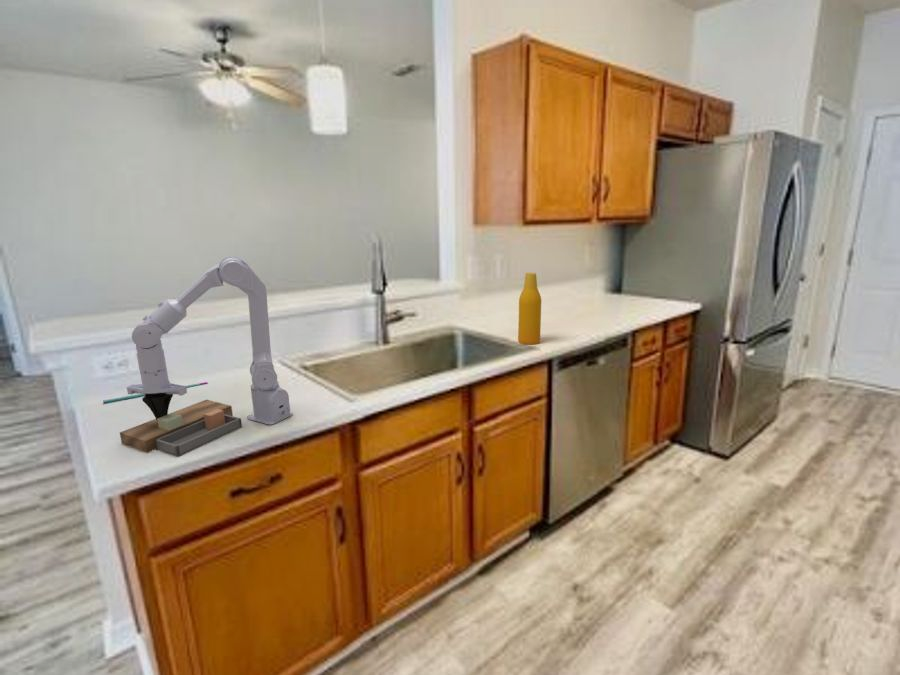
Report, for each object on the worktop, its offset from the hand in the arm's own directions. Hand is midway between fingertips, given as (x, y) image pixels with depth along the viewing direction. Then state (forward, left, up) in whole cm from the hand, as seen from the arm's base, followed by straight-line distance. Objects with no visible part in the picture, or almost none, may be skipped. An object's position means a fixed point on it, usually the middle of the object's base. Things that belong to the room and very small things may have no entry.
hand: (162, 420), depth 126 cm
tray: (-10, -3, -4) cm, 11 cm away
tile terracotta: (-7, -9, -2) cm, 11 cm away
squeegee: (+27, -16, -5) cm, 32 cm away
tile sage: (-3, 0, -1) cm, 4 cm away
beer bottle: (-54, -125, -4) cm, 136 cm away
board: (-1, -4, -4) cm, 6 cm away
